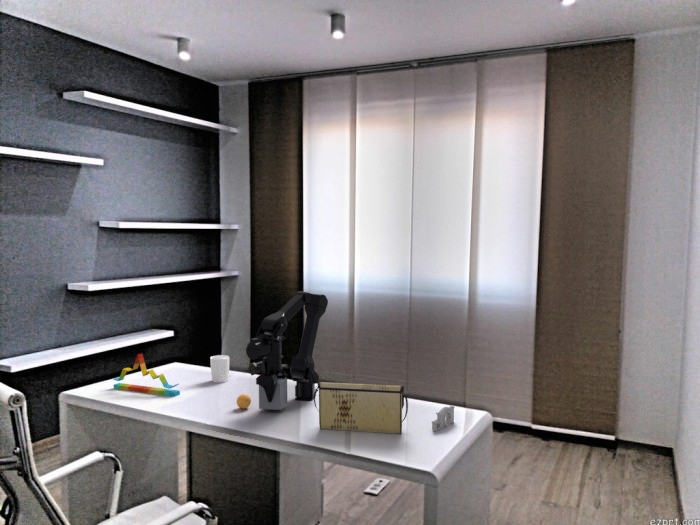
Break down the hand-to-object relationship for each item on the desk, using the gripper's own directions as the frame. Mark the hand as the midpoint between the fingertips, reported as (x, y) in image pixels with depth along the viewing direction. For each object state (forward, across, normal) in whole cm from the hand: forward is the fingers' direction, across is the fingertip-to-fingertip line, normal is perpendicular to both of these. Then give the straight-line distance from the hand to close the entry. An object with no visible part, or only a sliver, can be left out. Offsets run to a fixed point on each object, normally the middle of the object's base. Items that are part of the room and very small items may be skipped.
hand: (273, 398), depth 198 cm
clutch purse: (+4, +13, +33) cm, 36 cm away
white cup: (+4, -34, -35) cm, 49 cm away
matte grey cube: (+3, 0, 0) cm, 3 cm away
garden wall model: (+4, +6, +58) cm, 59 cm away
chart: (+5, -14, -57) cm, 59 cm away
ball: (+2, 0, -11) cm, 11 cm away
